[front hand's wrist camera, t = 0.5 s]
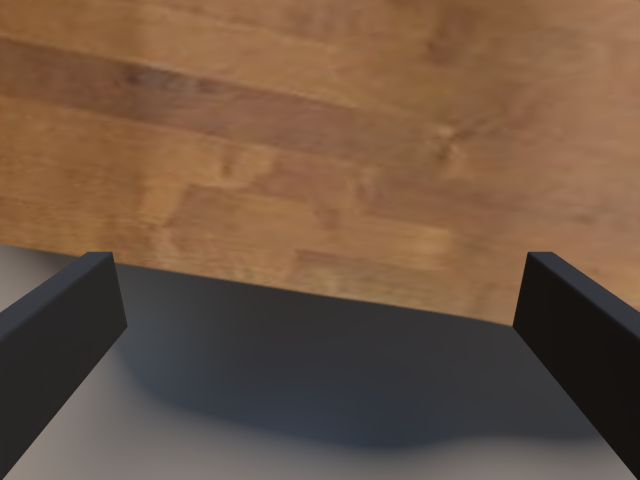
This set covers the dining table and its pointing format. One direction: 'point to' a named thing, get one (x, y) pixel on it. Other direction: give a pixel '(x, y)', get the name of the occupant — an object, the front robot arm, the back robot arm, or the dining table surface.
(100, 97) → the dining table surface
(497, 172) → the dining table surface
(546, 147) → the dining table surface
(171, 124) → the dining table surface
